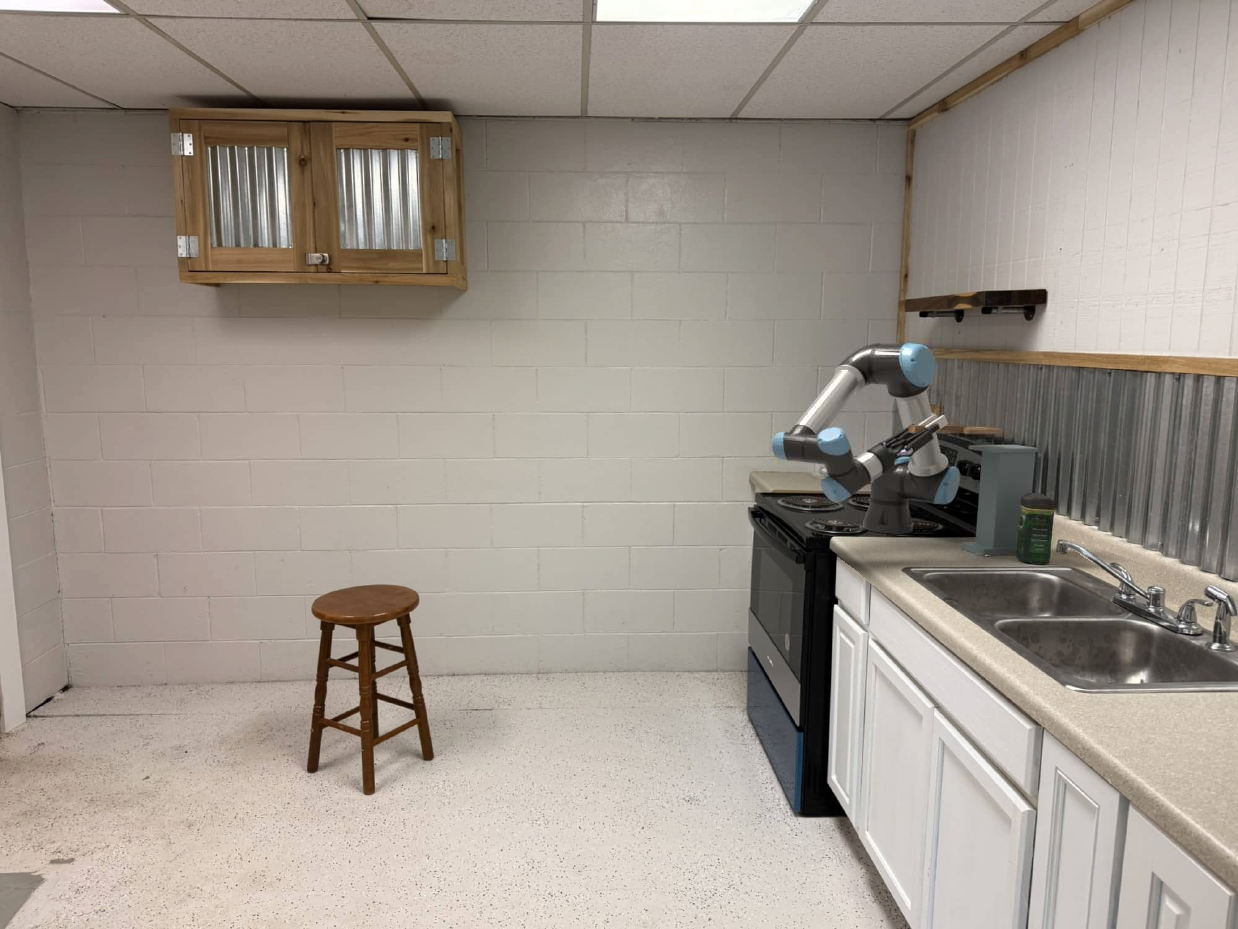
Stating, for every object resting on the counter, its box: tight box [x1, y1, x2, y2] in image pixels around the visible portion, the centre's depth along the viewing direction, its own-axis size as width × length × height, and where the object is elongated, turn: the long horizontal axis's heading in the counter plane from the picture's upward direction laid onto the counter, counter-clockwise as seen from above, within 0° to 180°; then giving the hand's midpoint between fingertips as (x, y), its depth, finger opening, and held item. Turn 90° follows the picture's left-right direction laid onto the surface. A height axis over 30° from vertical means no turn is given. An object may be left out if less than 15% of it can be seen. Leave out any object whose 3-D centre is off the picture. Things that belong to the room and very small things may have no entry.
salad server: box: [908, 424, 1003, 435], centre depth 234 cm, size 8×26×2 cm, turn 108°
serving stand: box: [960, 444, 1040, 557], centre depth 241 cm, size 9×16×30 cm, turn 108°
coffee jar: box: [1015, 492, 1056, 565], centre depth 231 cm, size 10×8×19 cm
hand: (941, 419), depth 232 cm, fingers closed on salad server, 3 cm apart
